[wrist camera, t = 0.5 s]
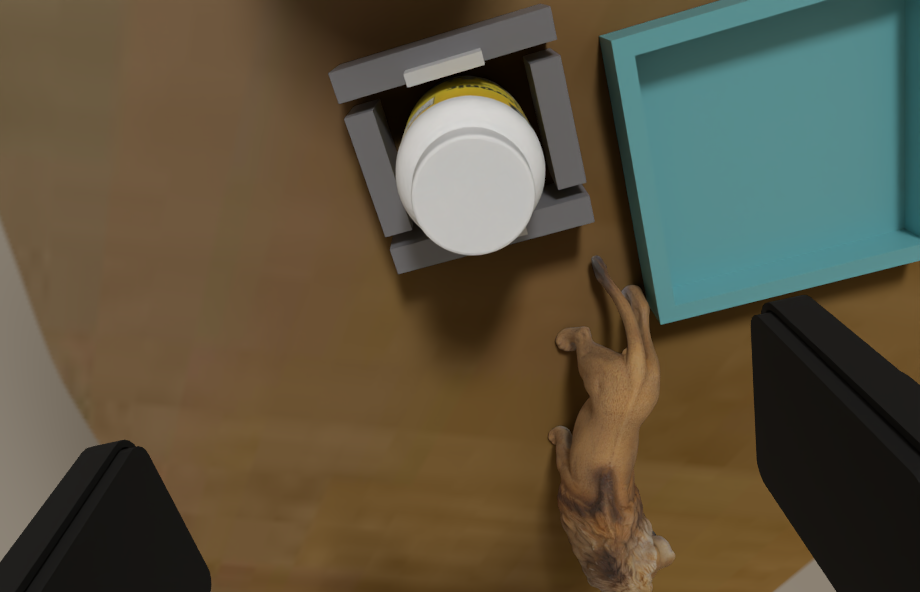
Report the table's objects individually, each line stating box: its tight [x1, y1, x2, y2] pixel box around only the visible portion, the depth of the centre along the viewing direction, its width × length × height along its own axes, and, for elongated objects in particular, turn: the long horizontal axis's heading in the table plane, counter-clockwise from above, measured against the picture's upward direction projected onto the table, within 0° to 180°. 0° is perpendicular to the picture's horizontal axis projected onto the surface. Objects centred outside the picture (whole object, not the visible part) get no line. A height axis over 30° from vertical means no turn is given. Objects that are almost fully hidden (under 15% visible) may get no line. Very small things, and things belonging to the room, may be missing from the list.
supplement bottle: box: [396, 76, 545, 255], centre depth 26 cm, size 5×5×10 cm
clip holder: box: [328, 4, 595, 274], centre depth 28 cm, size 9×9×4 cm
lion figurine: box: [548, 256, 675, 592], centre depth 32 cm, size 15×5×9 cm, turn 6°
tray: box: [599, 0, 920, 325], centre depth 29 cm, size 13×13×2 cm
